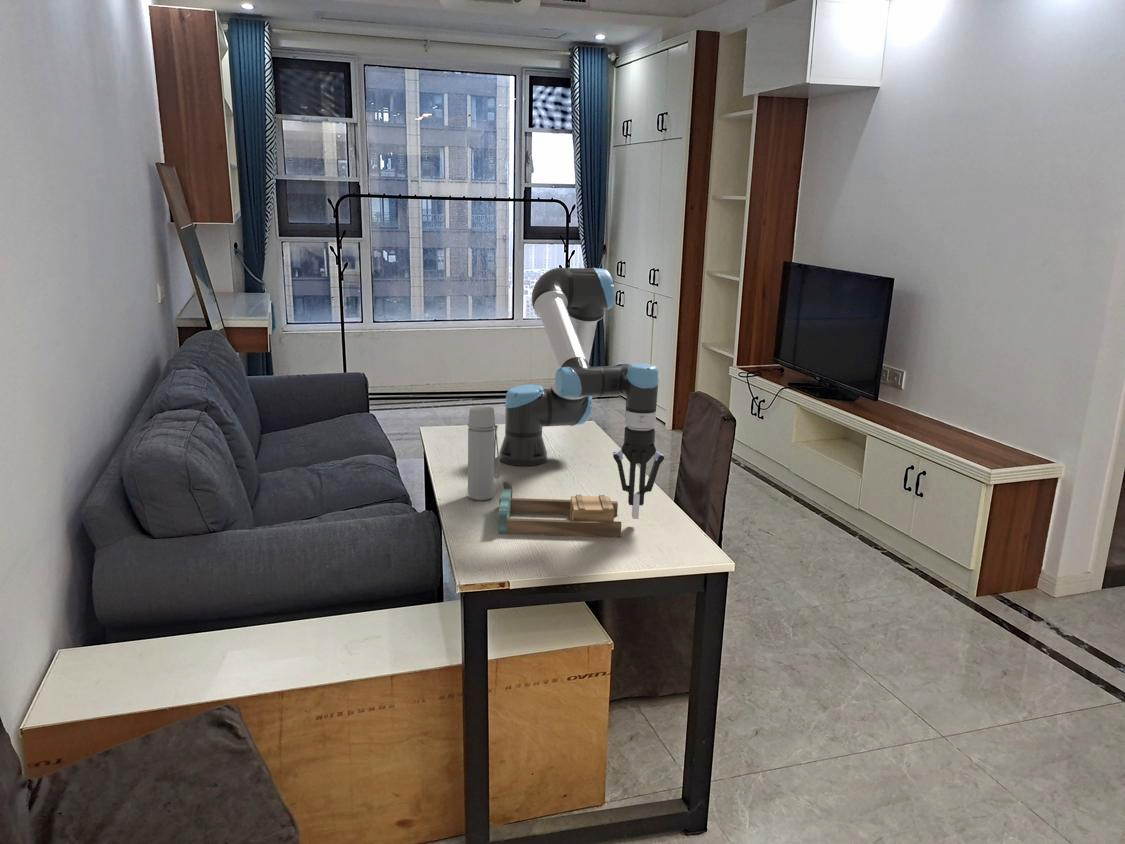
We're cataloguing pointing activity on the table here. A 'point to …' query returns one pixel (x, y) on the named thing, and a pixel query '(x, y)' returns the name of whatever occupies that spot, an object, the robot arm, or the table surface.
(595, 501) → the crate
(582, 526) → the bay
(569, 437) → the table surface
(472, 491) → the water bottle
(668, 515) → the table surface
